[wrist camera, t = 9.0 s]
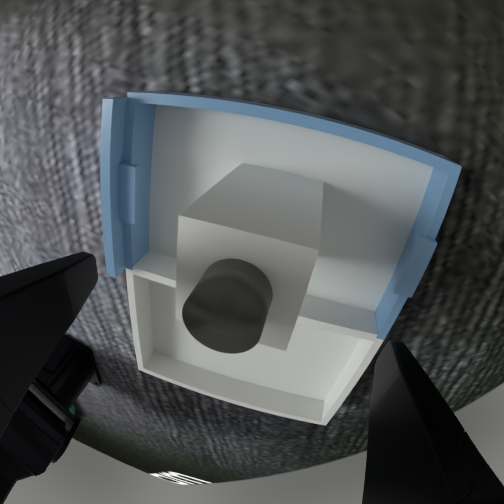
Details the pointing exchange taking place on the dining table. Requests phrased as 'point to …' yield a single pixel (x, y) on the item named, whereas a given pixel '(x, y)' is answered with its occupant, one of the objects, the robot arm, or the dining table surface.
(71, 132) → the dining table surface
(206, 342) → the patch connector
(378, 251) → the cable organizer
